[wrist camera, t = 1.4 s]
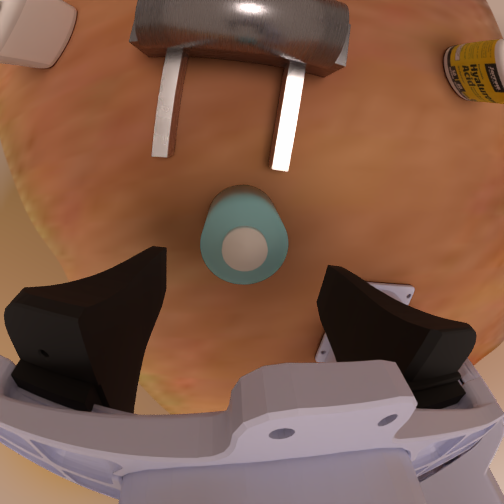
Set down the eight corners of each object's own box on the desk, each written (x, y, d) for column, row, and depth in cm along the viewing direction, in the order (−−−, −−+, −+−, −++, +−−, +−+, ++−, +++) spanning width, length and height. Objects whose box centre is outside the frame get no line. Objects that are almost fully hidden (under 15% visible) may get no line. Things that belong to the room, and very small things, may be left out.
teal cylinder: (269, 252, 21) (280, 293, 16) (205, 245, 20) (196, 285, 15) (281, 189, 19) (298, 213, 14) (211, 180, 18) (203, 201, 13)
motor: (307, 171, 18) (341, 193, 12) (135, 152, 17) (92, 165, 11) (330, 31, 14) (369, -2, 8) (159, 11, 12) (131, -29, 7)
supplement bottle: (433, 67, 15) (522, 59, 6) (452, 36, 13) (530, 24, 4) (467, 113, 16) (551, 127, 7) (484, 80, 14) (560, 85, 6)
